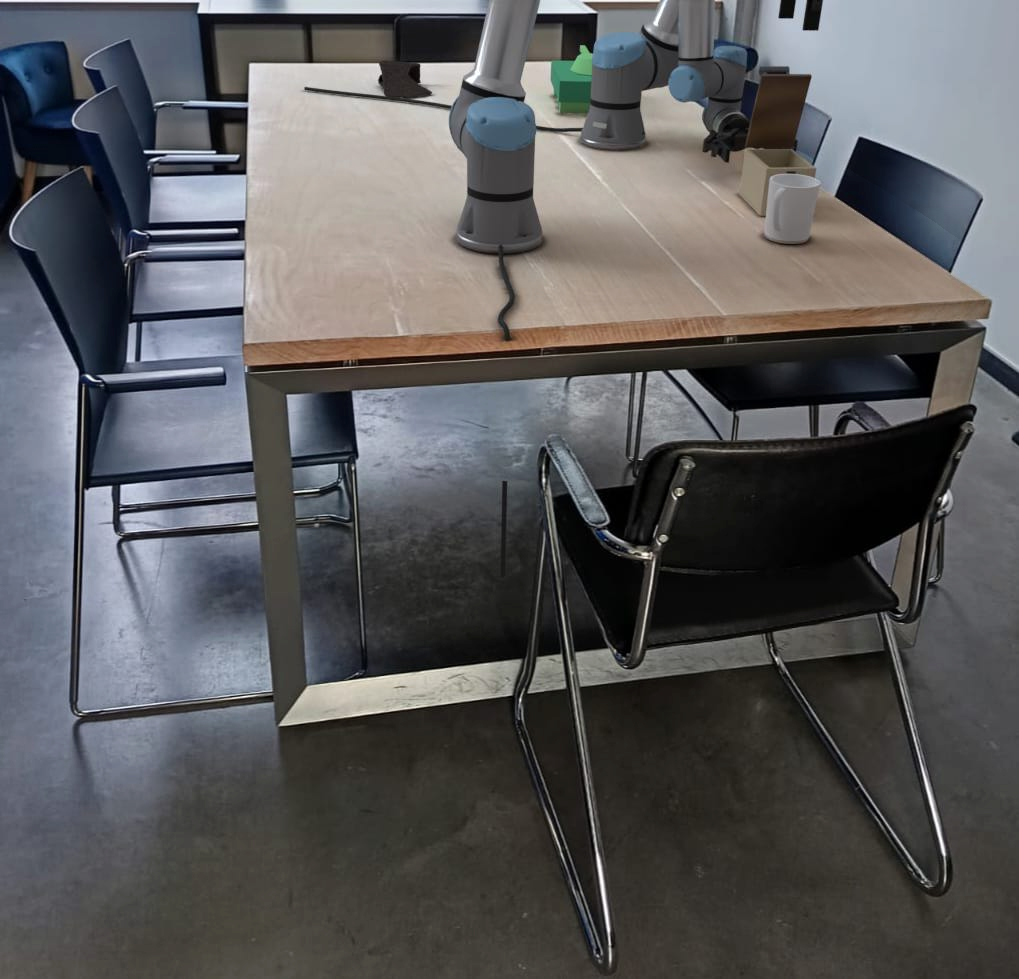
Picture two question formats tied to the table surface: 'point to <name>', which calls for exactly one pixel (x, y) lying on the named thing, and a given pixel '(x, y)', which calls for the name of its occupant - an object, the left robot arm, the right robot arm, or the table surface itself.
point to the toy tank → (573, 83)
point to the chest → (768, 173)
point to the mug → (790, 208)
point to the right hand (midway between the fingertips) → (760, 155)
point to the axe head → (401, 79)
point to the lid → (777, 108)
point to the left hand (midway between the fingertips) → (797, 24)
